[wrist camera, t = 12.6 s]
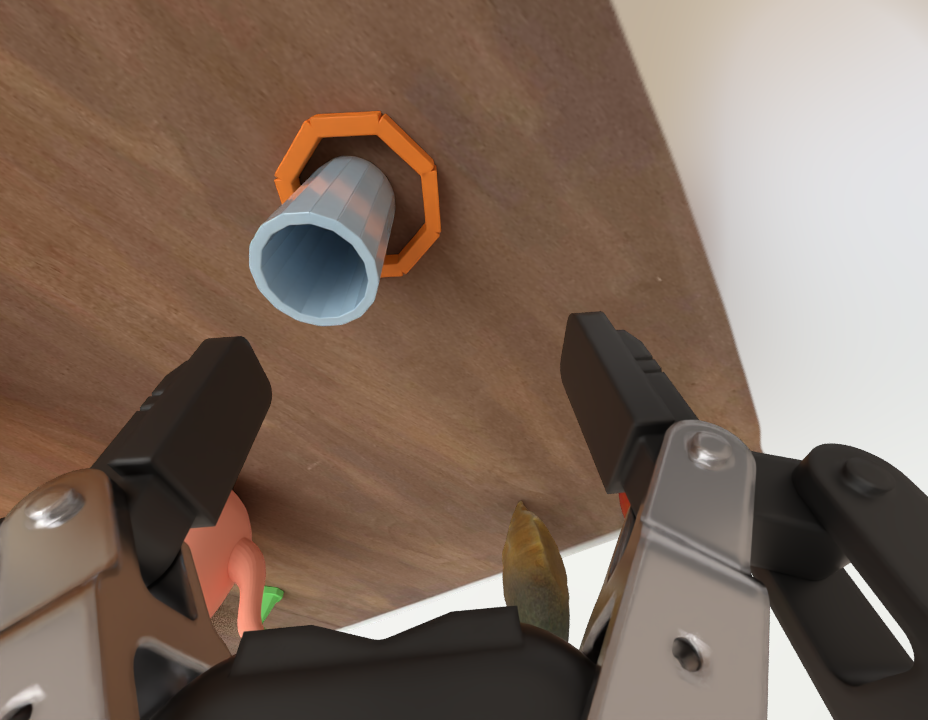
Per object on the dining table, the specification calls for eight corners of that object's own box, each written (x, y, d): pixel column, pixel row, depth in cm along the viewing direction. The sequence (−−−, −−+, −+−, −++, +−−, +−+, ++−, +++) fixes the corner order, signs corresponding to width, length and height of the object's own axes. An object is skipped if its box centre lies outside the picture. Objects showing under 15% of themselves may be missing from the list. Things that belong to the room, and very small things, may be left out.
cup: (301, 157, 19) (225, 216, 12) (388, 153, 19) (364, 208, 12) (325, 242, 22) (275, 329, 15) (400, 237, 22) (387, 321, 15)
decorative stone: (536, 521, 45) (573, 682, 33) (487, 522, 44) (507, 687, 33) (554, 475, 39) (607, 652, 27) (497, 476, 38) (527, 658, 27)
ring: (264, 116, 18) (253, 120, 16) (432, 108, 18) (432, 111, 17) (313, 271, 23) (307, 282, 22) (443, 263, 23) (444, 273, 22)
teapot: (149, 416, 29) (-5, 615, 19) (319, 499, 39) (278, 662, 28) (57, 491, 34) (-103, 678, 24) (226, 548, 44) (163, 700, 33)
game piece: (281, 586, 52) (267, 638, 47) (285, 597, 54) (272, 647, 50) (248, 586, 51) (230, 639, 46) (254, 597, 53) (237, 649, 49)
